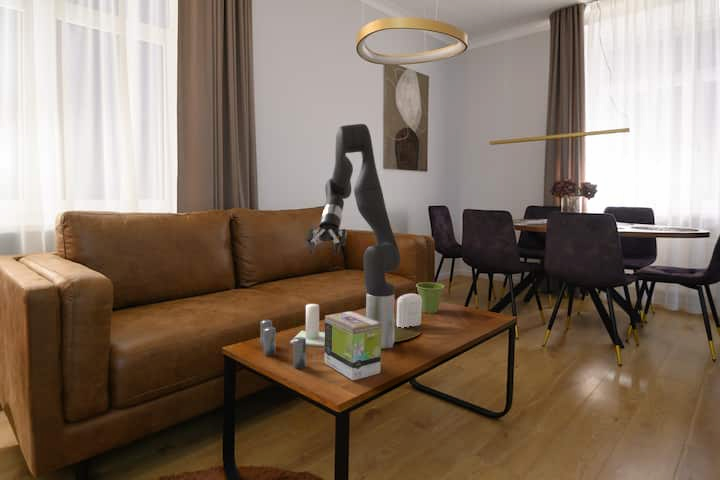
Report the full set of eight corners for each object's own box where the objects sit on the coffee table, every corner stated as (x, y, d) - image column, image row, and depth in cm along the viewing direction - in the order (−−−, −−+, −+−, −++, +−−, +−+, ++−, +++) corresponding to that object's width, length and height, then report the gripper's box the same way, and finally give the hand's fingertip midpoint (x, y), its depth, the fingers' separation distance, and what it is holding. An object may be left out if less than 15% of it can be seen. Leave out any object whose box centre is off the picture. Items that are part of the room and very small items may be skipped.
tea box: (381, 373, 122) (382, 321, 120) (352, 382, 116) (352, 328, 114) (351, 356, 134) (352, 309, 132) (323, 363, 128) (323, 314, 127)
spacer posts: (344, 349, 140) (344, 325, 139) (330, 371, 122) (331, 344, 121) (263, 342, 145) (263, 319, 144) (239, 363, 127) (238, 336, 126)
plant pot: (409, 310, 185) (410, 284, 184) (427, 306, 193) (427, 281, 192) (431, 317, 177) (432, 289, 175) (449, 311, 185) (450, 285, 183)
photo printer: (415, 322, 169) (416, 291, 168) (422, 325, 166) (423, 293, 164) (394, 326, 164) (395, 294, 162) (401, 329, 160) (402, 296, 159)
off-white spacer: (320, 335, 151) (320, 304, 150) (317, 339, 146) (317, 307, 145) (307, 334, 152) (307, 303, 150) (304, 338, 147) (304, 306, 146)
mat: (334, 334, 154) (334, 333, 154) (325, 346, 142) (325, 344, 142) (301, 332, 156) (301, 330, 156) (290, 343, 144) (290, 341, 144)
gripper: (311, 212, 164) (301, 246, 154) (348, 212, 161) (341, 247, 151) (315, 225, 170) (306, 258, 160) (351, 225, 167) (344, 260, 157)
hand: (323, 253), depth 156 cm, fingers open, 8 cm apart
